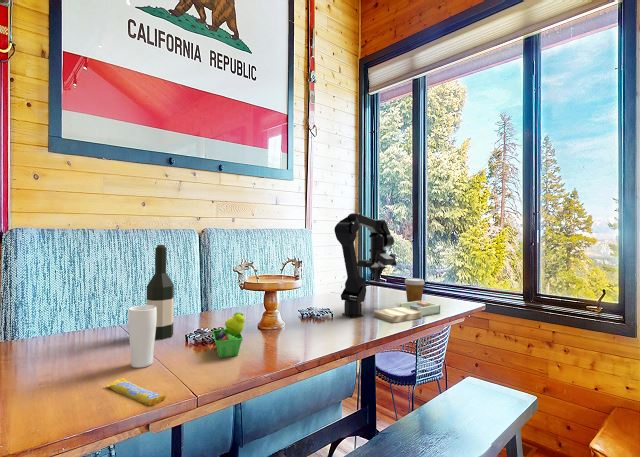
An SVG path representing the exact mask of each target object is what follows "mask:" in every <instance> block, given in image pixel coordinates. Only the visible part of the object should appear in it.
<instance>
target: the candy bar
mask: <svg viewBox="0 0 640 457" xmlns="http://www.w3.org/2000/svg"><path fill="white" fill-rule="evenodd" d="M105 387H106V388H108V389H109V388H110V389H111V390H112V391H114V392H117V393H119V394H121V395H123V396H126V397H128V398H131V399H133V400H135V401H137V402H140V403H142V404H144V405H146V406H149V407H151V406H152V407H153V406H155V405H157V404H159V403H160V402H163V401H165V399H166V398H167V394H166V393H164V394H159V393H157V392H154V391H152V390H148V389H147V388H144V387H142V386H139V385H137V384H134V383H133V382H131V381H129V380H126V379H125V378H124V377H120V378H117V379H115V380H112V381H111V382H108V383H105Z"/></svg>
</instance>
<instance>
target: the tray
mask: <svg viewBox="0 0 640 457" xmlns="http://www.w3.org/2000/svg"><path fill="white" fill-rule="evenodd" d="M417 302H425V303H429V306H427V307H421V308H418V311H420V312H422V317H426V316H432V315H439V314H440V313H441V304H437V303H433V302H429V301H425V300H421V301H414V302H400V303H399V307H405V308H409V309H410V305H417Z"/></svg>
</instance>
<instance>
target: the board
mask: <svg viewBox="0 0 640 457" xmlns="http://www.w3.org/2000/svg"><path fill="white" fill-rule="evenodd" d="M373 314H374V315H373V317H374V318H377V319H380V320H382V321H386V322H389V323H393V324H395V323H400V322H405V321H412V320H417V319H422V317H423V316H422V312H420V311H416V310H412V309H409V308H405V307H400V306H399V307H392V308H385V309H377V310H374V311H373Z"/></svg>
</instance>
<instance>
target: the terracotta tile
mask: <svg viewBox="0 0 640 457" xmlns="http://www.w3.org/2000/svg"><path fill="white" fill-rule="evenodd" d="M425 302H426V301H425ZM425 302H417V305H420V306H424V307H427V306H429V303H430V302H429V303H425Z"/></svg>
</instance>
